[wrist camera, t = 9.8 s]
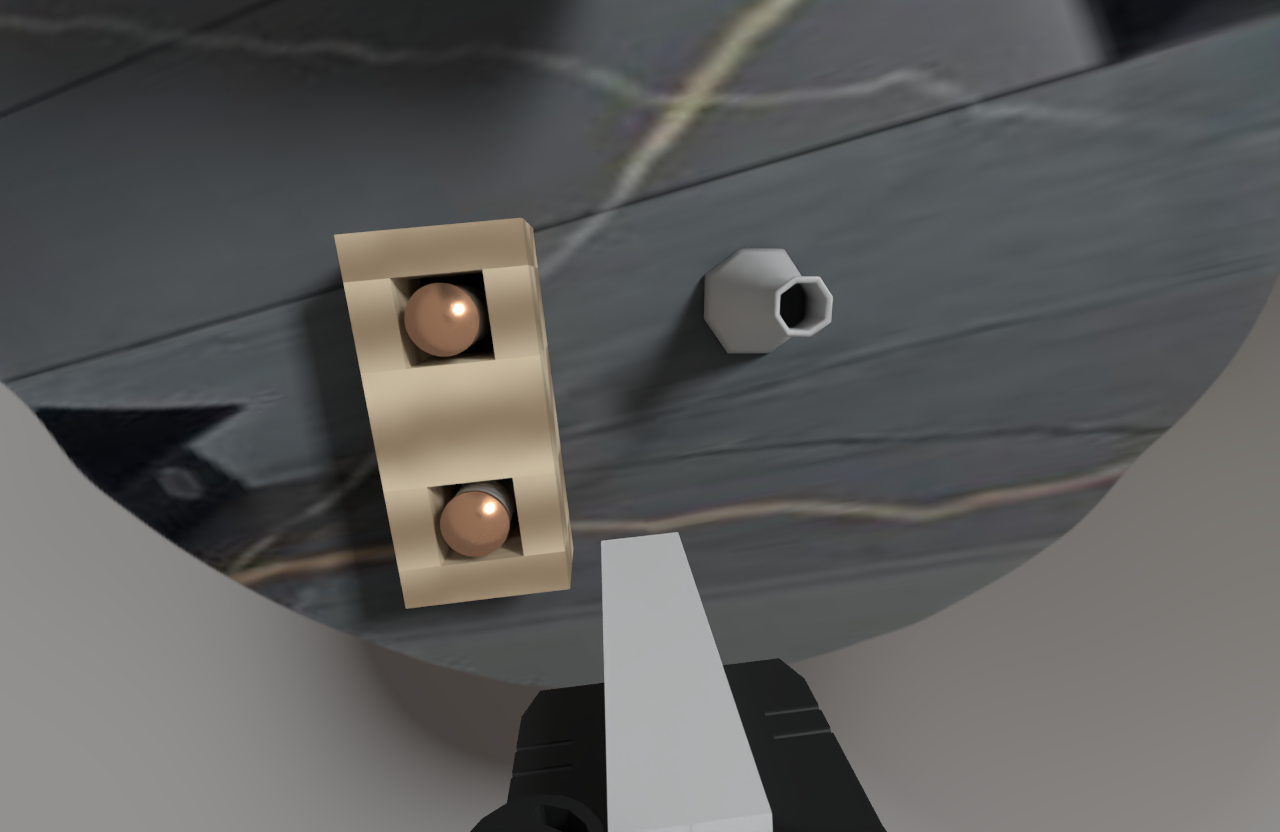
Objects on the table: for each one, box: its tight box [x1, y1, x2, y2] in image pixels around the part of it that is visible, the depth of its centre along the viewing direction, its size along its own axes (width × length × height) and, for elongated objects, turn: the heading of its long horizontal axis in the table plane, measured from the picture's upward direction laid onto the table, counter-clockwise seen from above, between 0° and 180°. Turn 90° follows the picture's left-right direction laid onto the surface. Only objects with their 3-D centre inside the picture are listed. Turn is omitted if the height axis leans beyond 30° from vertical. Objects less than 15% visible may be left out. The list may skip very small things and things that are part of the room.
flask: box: [704, 248, 833, 353], centre depth 37 cm, size 7×7×10 cm
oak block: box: [334, 218, 573, 609], centre depth 39 cm, size 22×10×6 cm, turn 6°
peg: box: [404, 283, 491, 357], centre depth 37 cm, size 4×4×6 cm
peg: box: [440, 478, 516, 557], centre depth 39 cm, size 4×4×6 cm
